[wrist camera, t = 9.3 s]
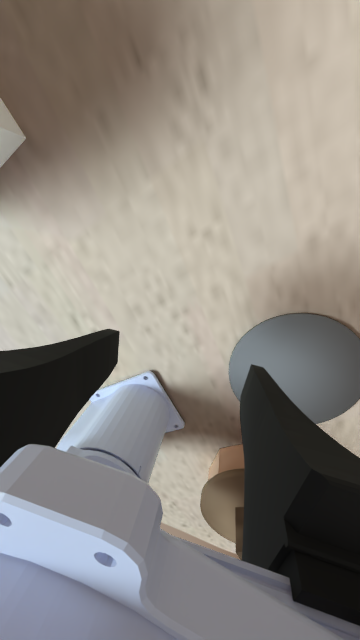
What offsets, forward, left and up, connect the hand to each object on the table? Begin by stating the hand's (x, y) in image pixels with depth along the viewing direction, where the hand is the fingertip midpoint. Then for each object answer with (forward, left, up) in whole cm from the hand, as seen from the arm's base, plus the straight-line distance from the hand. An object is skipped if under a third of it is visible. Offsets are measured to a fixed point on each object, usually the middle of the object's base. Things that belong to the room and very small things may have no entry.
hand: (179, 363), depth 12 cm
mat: (+5, -10, -10) cm, 15 cm away
